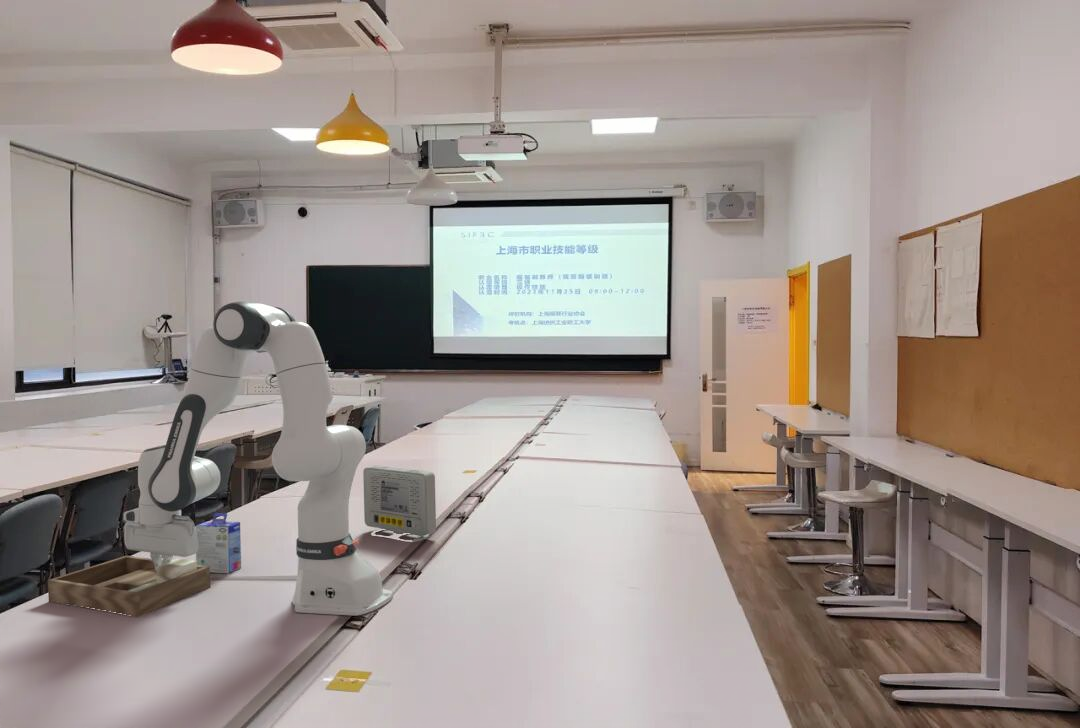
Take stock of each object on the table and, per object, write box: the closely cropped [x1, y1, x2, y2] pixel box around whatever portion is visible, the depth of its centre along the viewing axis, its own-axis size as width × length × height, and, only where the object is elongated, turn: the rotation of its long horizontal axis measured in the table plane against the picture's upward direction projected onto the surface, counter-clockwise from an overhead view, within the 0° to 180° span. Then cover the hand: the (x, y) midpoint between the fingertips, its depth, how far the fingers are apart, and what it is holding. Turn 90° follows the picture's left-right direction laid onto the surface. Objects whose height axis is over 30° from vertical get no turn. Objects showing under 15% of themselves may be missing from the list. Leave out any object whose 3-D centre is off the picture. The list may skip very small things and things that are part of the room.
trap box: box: [47, 555, 211, 618], centre depth 170 cm, size 28×20×5 cm
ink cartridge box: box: [195, 512, 242, 574], centre depth 187 cm, size 10×6×14 cm, turn 78°
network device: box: [362, 465, 437, 543], centre depth 218 cm, size 26×9×20 cm, turn 58°
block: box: [156, 558, 197, 583], centre depth 171 cm, size 6×6×4 cm
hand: (162, 571), depth 172 cm, fingers closed
